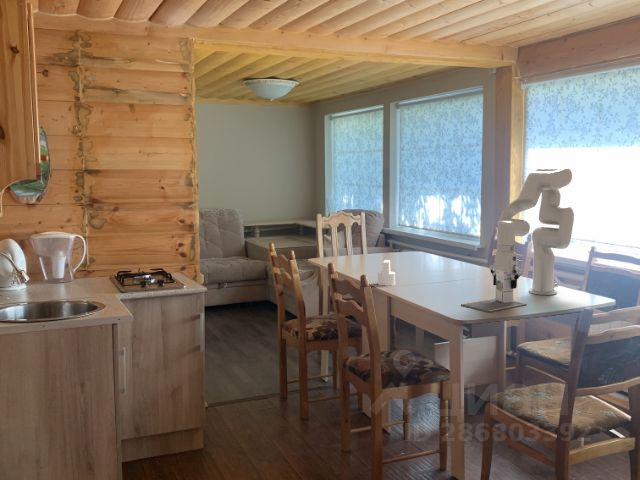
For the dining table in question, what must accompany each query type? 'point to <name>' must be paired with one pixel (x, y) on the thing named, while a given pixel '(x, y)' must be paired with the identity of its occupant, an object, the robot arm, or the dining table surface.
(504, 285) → the syrup box
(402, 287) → the dining table surface
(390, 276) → the base with upright slab
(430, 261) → the dining table surface
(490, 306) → the mat
